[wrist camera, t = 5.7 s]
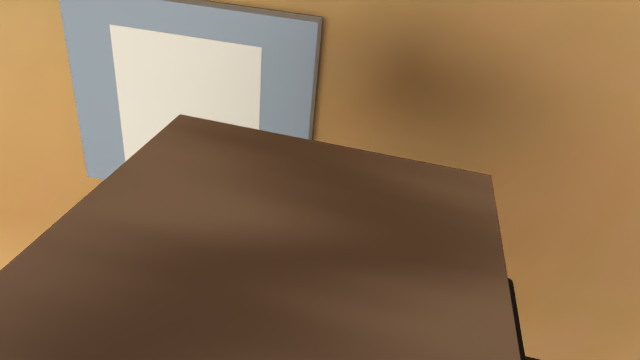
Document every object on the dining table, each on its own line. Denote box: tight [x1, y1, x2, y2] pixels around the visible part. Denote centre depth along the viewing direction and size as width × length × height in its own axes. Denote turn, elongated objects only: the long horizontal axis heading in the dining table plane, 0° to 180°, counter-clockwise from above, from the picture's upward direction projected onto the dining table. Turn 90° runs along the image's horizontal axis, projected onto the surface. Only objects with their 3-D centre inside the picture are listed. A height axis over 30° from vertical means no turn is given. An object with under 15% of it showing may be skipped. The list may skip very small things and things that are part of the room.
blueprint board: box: [59, 0, 323, 180], centre depth 26 cm, size 12×10×1 cm
